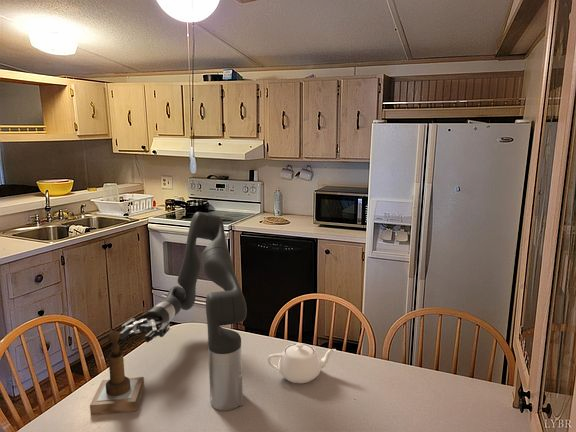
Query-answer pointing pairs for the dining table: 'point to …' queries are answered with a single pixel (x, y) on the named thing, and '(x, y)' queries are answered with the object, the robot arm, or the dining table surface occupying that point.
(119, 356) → the brown pepper mill
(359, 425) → the dining table surface
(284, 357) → the teapot
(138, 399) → the plinth
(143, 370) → the dining table surface
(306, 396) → the dining table surface
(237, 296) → the robot arm
